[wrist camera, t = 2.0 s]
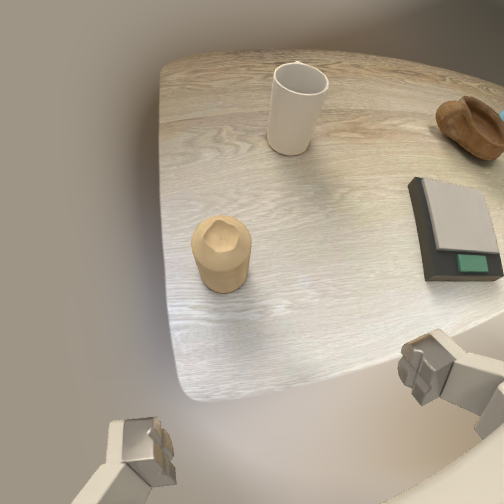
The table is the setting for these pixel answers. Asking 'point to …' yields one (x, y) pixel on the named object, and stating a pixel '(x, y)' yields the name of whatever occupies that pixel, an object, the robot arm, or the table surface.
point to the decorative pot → (502, 115)
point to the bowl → (472, 126)
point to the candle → (222, 252)
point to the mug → (295, 107)
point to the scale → (454, 232)
